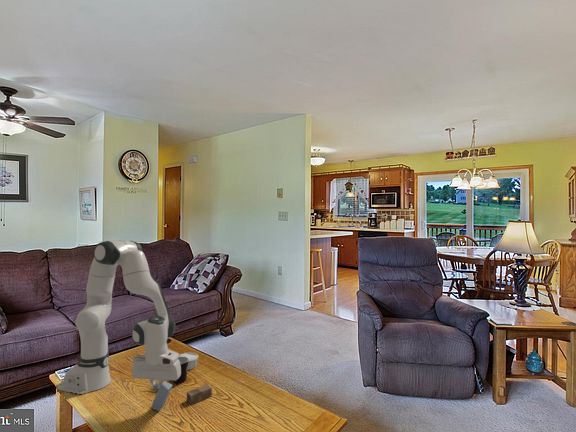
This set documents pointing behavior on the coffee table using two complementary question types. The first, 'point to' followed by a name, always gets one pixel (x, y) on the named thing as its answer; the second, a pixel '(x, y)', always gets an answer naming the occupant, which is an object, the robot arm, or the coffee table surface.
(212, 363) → the coffee table surface
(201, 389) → the walnut block
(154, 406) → the slate block
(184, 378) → the coffee mug
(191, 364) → the ramekin
